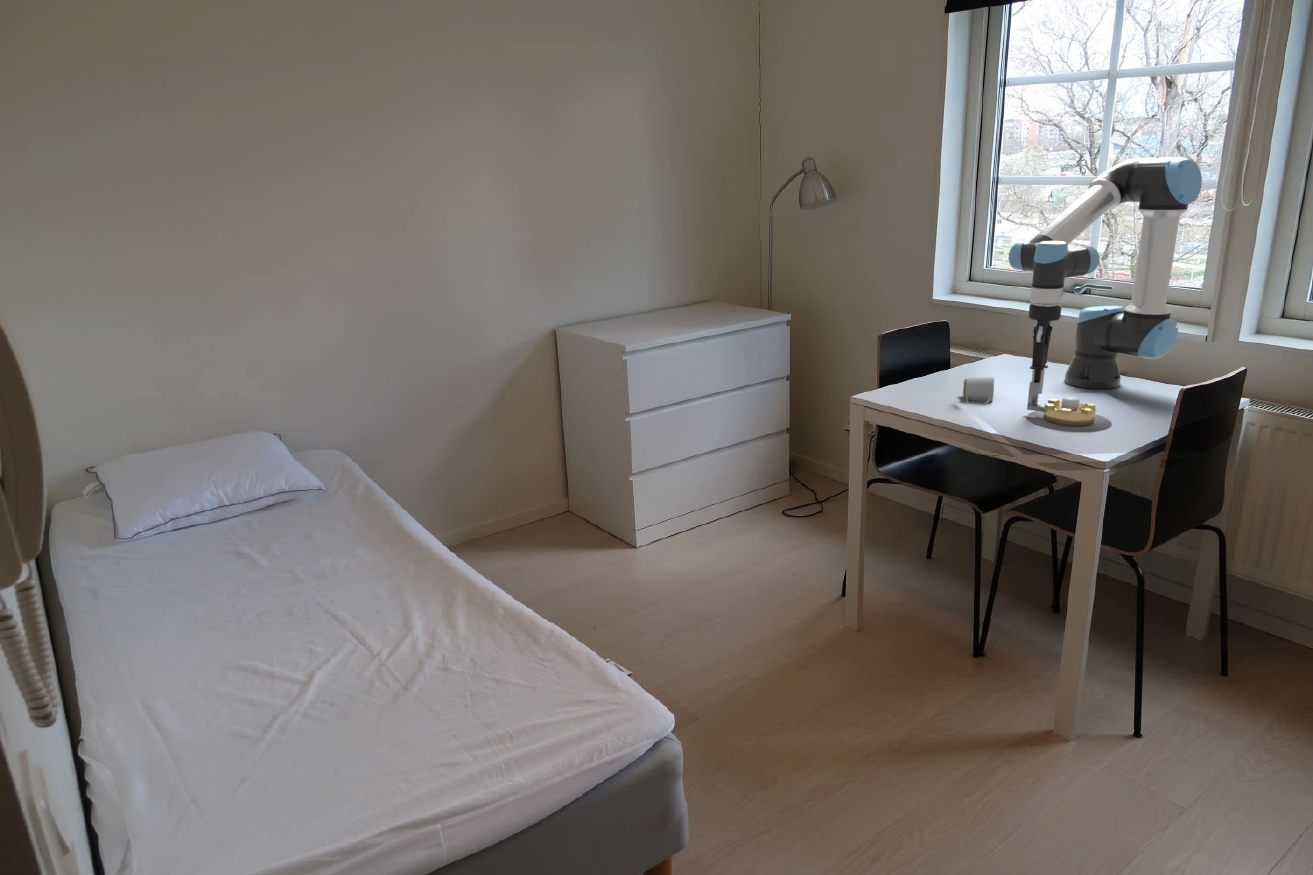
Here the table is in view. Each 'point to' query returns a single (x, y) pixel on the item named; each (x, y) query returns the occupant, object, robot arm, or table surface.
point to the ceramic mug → (979, 389)
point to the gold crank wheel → (1060, 410)
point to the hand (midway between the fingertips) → (1036, 392)
